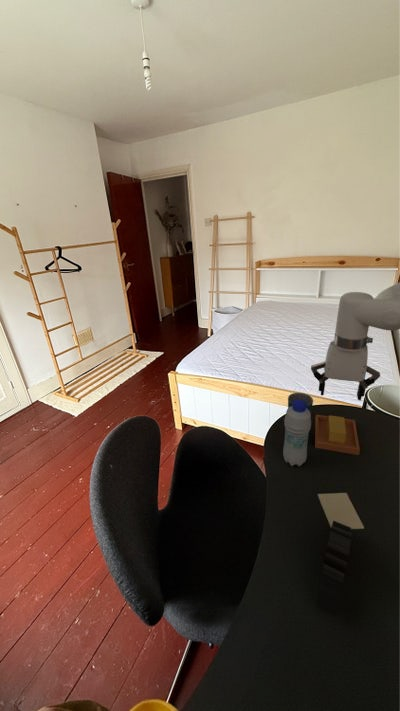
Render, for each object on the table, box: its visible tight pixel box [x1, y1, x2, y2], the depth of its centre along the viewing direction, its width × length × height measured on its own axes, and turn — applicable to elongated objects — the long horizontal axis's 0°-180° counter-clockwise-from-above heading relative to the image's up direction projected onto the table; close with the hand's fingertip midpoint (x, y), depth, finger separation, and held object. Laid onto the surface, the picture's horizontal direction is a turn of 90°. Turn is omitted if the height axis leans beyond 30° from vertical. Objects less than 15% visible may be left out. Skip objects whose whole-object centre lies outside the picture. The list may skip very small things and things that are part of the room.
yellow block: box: [327, 414, 346, 445], centre depth 90 cm, size 8×4×4 cm, turn 160°
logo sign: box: [314, 520, 353, 619], centre depth 56 cm, size 18×4×11 cm, turn 149°
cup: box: [287, 392, 314, 414], centre depth 87 cm, size 7×7×15 cm
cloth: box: [317, 492, 365, 530], centre depth 69 cm, size 7×9×1 cm
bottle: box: [282, 400, 312, 467], centre depth 79 cm, size 7×7×20 cm
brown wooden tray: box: [314, 414, 361, 456], centre depth 91 cm, size 14×12×2 cm
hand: (340, 395), depth 85 cm, fingers open, 9 cm apart
